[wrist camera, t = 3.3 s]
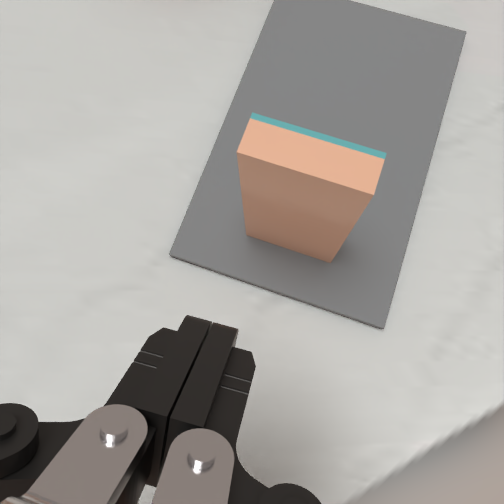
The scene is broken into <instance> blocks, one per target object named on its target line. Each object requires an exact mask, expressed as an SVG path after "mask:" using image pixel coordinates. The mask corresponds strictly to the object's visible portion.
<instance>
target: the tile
mask: <svg viewBox="0 0 504 504" xmlns="http://www.w3.org/2000/svg"><path fill="white" fill-rule="evenodd" d="M386 154H387V153H385V152H381V151H378V150H375V149H372V148H368V147H365V146H362V145H358V144H355V143H352V142H348V141H345V140H342V139H338V138H335V137H332V136H329V135H325V134H322V133H319V132H315V131H312V130H309V129H305V128H302V127H299V126H296V125H292V124H289V123H286V122H282V121H279V120H276V119H272V118H269V117H266V116H262V115H259V114H256V113H253V112H252V115H251V117H250V120H249V122H248V125H247V127H246V130H245V132H244V135H243V137H242V140H241V142H240V145H239V147H238V150H237V160H238V169H239V177H240V186H241V194H242V203H243V212H244V220H245V229H246V235H248V236H251V237H254V238H257V239H260V240H263V241H265V242H268V243H271V244H274V245H277V246H280V247H283V248H286V249H289V250H292V251H295V252H298V253H301V254H304V255H307V256H310V257H313V258H316V259H319V260H322V261H325V262H328V263H331V262H332V260H333V258H334V257H335V255H336V254H337V252H338V251H339V249H340V247H341V246H342V244H343V243H344V241H345V240H346V238H347V236H348V235H349V233H350V232H351V230H352V229H353V227H354V225H355V224H356V222H357V221H358V219H359V218H360V216H361V214H362V213H363V211H364V210H365V208H366V207H367V205H368V203H369V202H370V200H371V199H372V197H373V196H374V193H375V190H376V186H377V183H378V180H379V177H380V173H381V170H382V167H383V164H384V160H385V157H386Z"/></svg>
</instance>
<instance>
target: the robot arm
mask: <svg viewBox="0 0 504 504" xmlns="http://www.w3.org/2000/svg"><path fill="white" fill-rule="evenodd" d="M237 335H238V329H236V328H232V327H229V326H225V325H221V324H218V323H213V324H212V322H211V321H207V320H204V319H200V318H196V317H193V316H189V315H187V316H186V317H185V318H184V320H183V322H182V324H181V325H180V327H179V329H178V331H174V330H171V329H167V328H162V329H160V330H159V331H157V332H156V333H154V334H153V335H151V336H149V338H148V339H147V341H146V342H145V344H144V345H143V347H142V349H141V351H140V352H139V353H138V355H137V356H136V358H135V359H134V362H133V363H132V364H131V366H130V367H129V369H128V370H127V372H126V373H125V375H124V376H123V378H122V379H121V381H120V383H119V384H118V386H117V387H116V389H115V390H114V392H113V393H112V395H111V397H110V398H109V400H108V401H107V403H106V404H105V405H104V406H103V407H101V408H98V409H96V410H95V411H93V412H92V413H90V414H89V415H88V416H87V417H86V418H84V419H81V420H78V421H72V422H38V418H37V415H36V414H35V413H34V411H32V410H31V409H30V408H28V407H26V406H24V405H21V404H15V403H6V404H0V504H138V502H139V498H140V495H141V493H142V491H143V488H144V486H145V484H147V485H151V486H154V487H157V488H156V492H155V495H154V498H153V501H152V504H321V503H320V501H319V500H318V499H317V498H316V497H315V496H314V495H313V494H312V493H311V492H310V491H308V490H307V489H305V488H303V487H301V486H298V485H295V484H288V483H284V484H278V485H275V486H273V487H271V488H270V489H269V488H267V487H266V486H264V485H263V484H261V483H260V482H258V481H257V480H255V479H254V478H253V477H252V476H250V475H249V474H248V473H247V472H246V471H245V469H244V468H243V467H242V465H241V464H240V462H239V460H238V457H237V453H236V441H237V437H238V433H239V429H240V425H241V421H242V417H243V413H244V410H245V406H246V402H247V398H248V394H249V390H250V386H251V383H252V379H253V375H254V371H255V367H256V366H255V362H254V359H253V355H252V352H250V351H246V350H243V349H239V348H235V344H236V339H237Z"/></svg>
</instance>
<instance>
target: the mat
mask: <svg viewBox="0 0 504 504" xmlns="http://www.w3.org/2000/svg"><path fill="white" fill-rule="evenodd" d="M465 35H466V31H462V30H458V29H455V28H451V27H447V26H443V25H440V24H436V23H432V22H428V21H425V20H421V19H417V18H413V17H410V16H406V15H402V14H399V13H395V12H391V11H387V10H384V9H380V8H376V7H372V6H369V5H365V4H361V3H357V2H354V1H350V0H274V2H273V4H272V7H271V9H270V12H269V14H268V16H267V19H266V21H265V24H264V26H263V28H262V31H261V33H260V36H259V38H258V41H257V43H256V45H255V48H254V50H253V53H252V55H251V57H250V60H249V62H248V65H247V67H246V70H245V72H244V74H243V77H242V79H241V82H240V84H239V86H238V89H237V91H236V94H235V96H234V99H233V101H232V103H231V106H230V108H229V111H228V113H227V115H226V118H225V120H224V123H223V125H222V127H221V130H220V132H219V135H218V137H217V140H216V142H215V144H214V147H213V149H212V152H211V154H210V156H209V159H208V161H207V164H206V166H205V169H204V171H203V173H202V176H201V178H200V181H199V183H198V185H197V188H196V190H195V193H194V195H193V198H192V200H191V202H190V205H189V207H188V210H187V212H186V214H185V217H184V219H183V222H182V224H181V226H180V229H179V231H178V234H177V236H176V239H175V241H174V243H173V246H172V248H171V251H170V253H169V255H170V256H171V257H174V258H177V259H180V260H183V261H186V262H189V263H191V264H194V265H197V266H200V267H203V268H206V269H209V270H212V271H215V272H217V273H220V274H223V275H226V276H229V277H232V278H235V279H238V280H241V281H243V282H246V283H249V284H252V285H255V286H258V287H261V288H264V289H267V290H270V291H272V292H275V293H278V294H281V295H284V296H287V297H290V298H293V299H296V300H298V301H301V302H304V303H307V304H310V305H313V306H316V307H319V308H322V309H324V310H327V311H330V312H333V313H336V314H339V315H342V316H345V317H348V318H350V319H353V320H356V321H359V322H362V323H365V324H368V325H371V326H374V327H377V328H379V329H384V326H385V323H386V319H387V316H388V312H389V308H390V305H391V301H392V298H393V294H394V290H395V287H396V283H397V280H398V276H399V272H400V269H401V265H402V262H403V258H404V254H405V251H406V247H407V244H408V240H409V236H410V233H411V229H412V226H413V222H414V218H415V215H416V211H417V208H418V204H419V200H420V197H421V193H422V190H423V186H424V182H425V179H426V175H427V172H428V168H429V164H430V161H431V157H432V154H433V150H434V146H435V143H436V139H437V136H438V132H439V128H440V125H441V121H442V118H443V114H444V110H445V107H446V103H447V100H448V96H449V92H450V89H451V85H452V82H453V78H454V75H455V71H456V67H457V64H458V60H459V57H460V53H461V49H462V46H463V42H464V39H465ZM252 112H253V113H256V114H259V115H262V116H266V117H269V118H272V119H276V120H279V121H282V122H286V123H289V124H292V125H296V126H299V127H302V128H305V129H309V130H312V131H315V132H319V133H322V134H325V135H329V136H332V137H335V138H338V139H342V140H345V141H348V142H352V143H355V144H358V145H362V146H365V147H368V148H372V149H375V150H378V151H381V152H385V153H387V154H386V157H385V160H384V164H383V167H382V170H381V173H380V177H379V180H378V183H377V186H376V190H375V193H374V196H373V197H372V199H371V200H370V202H369V203H368V205H367V207H366V208H365V210H364V211H363V213H362V214H361V216H360V218H359V219H358V221H357V222H356V224H355V225H354V227H353V229H352V230H351V232H350V233H349V235H348V236H347V238H346V240H345V241H344V243H343V244H342V246H341V247H340V249H339V251H338V252H337V254H336V255H335V257H334V258H333V260H332V262H331V263H328V262H325V261H322V260H319V259H316V258H313V257H310V256H307V255H304V254H301V253H298V252H295V251H292V250H289V249H286V248H283V247H280V246H277V245H274V244H271V243H268V242H265V241H263V240H260V239H257V238H254V237H251V236H248V235H246V229H245V220H244V212H243V203H242V194H241V186H240V177H239V169H238V160H237V150H238V147H239V145H240V142H241V140H242V137H243V135H244V132H245V130H246V127H247V125H248V122H249V120H250V117H251V115H252Z"/></svg>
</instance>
